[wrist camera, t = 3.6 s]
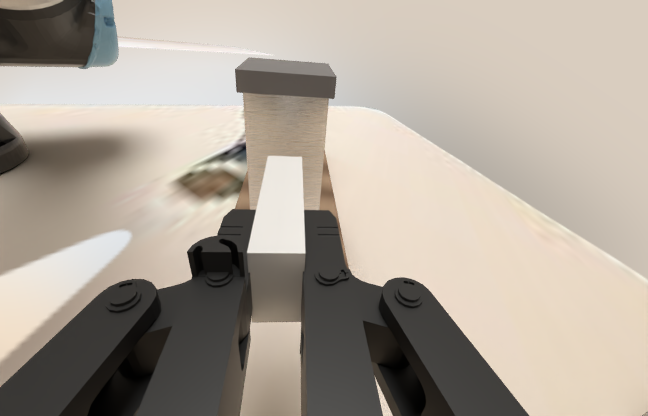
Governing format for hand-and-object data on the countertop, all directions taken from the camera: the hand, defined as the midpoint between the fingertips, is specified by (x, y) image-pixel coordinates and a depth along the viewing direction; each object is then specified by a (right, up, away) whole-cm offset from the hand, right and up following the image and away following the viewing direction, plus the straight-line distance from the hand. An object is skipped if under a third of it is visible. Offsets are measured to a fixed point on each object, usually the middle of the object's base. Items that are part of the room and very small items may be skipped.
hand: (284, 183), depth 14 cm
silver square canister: (-2, -3, +12) cm, 13 cm away
